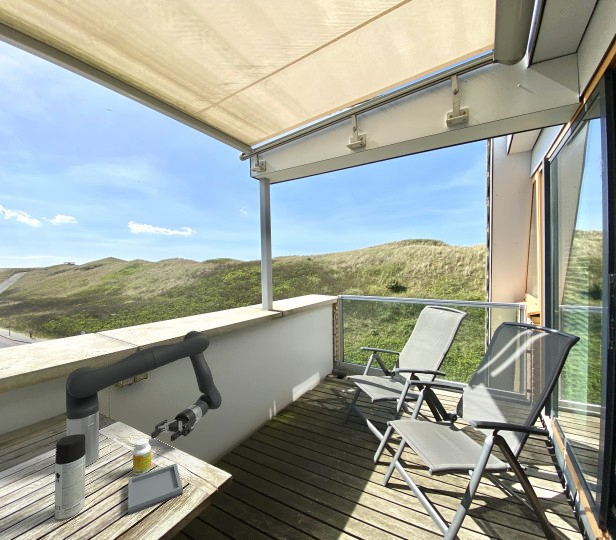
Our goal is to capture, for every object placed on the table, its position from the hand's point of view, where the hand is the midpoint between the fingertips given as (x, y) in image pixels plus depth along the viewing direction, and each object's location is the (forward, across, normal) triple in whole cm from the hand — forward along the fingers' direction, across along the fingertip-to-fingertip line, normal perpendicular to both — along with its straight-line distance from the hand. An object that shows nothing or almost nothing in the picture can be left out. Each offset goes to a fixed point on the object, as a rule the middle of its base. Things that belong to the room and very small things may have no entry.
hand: (161, 437), depth 108 cm
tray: (+16, +11, +6) cm, 21 cm away
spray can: (+28, -6, +6) cm, 30 cm away
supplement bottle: (+9, 0, +6) cm, 11 cm away
